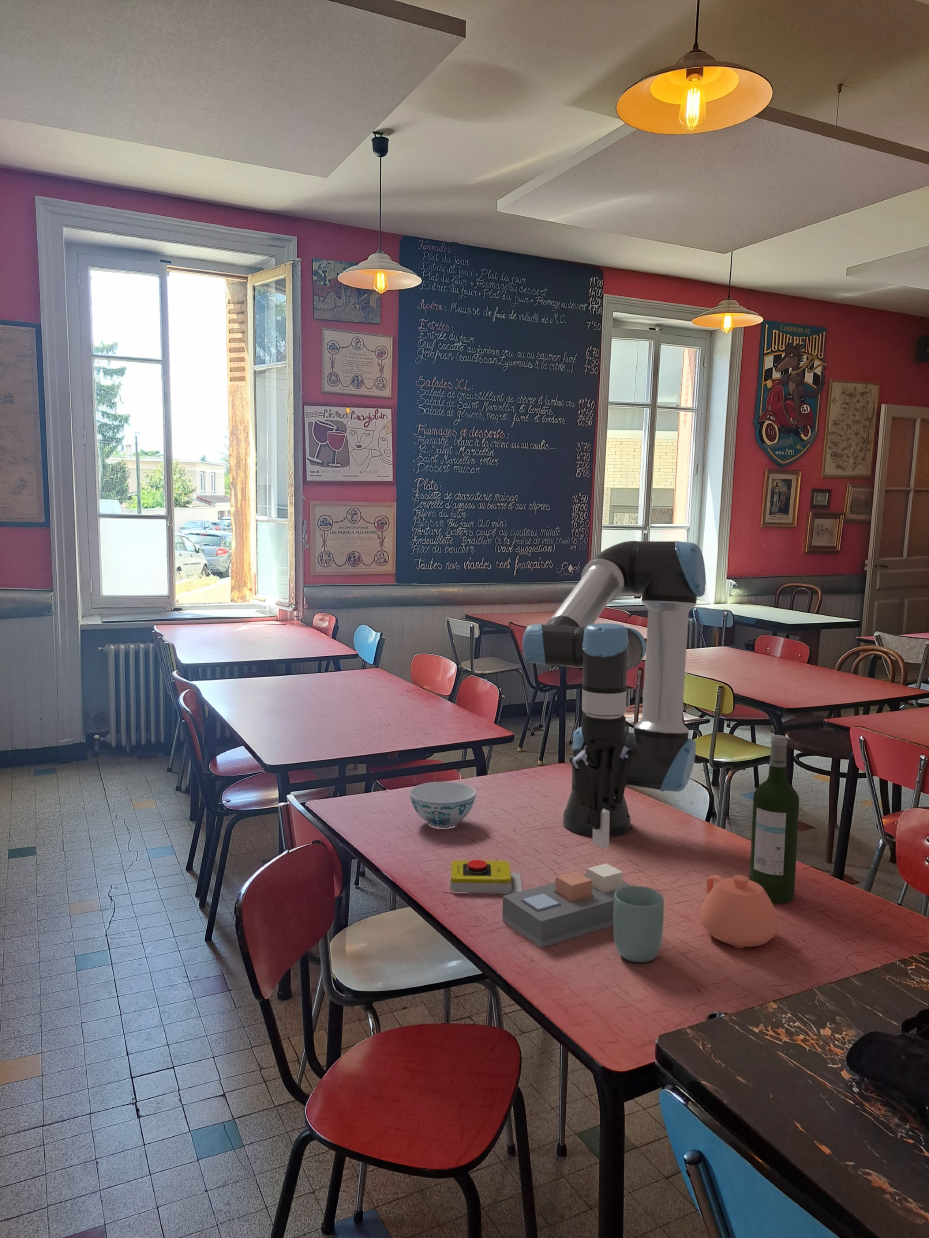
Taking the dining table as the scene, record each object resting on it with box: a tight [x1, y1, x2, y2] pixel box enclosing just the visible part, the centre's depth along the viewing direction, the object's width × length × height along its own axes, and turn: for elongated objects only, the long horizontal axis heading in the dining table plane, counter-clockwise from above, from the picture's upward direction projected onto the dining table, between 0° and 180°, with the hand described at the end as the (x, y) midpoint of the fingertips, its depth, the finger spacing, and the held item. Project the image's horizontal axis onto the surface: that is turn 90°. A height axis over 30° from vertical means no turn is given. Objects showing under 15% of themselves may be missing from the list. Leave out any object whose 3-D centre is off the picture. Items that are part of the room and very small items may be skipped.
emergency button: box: [450, 859, 524, 895], centre depth 163 cm, size 9×4×15 cm
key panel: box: [502, 873, 632, 949], centre depth 149 cm, size 22×11×4 cm, turn 121°
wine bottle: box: [749, 734, 800, 905], centre depth 158 cm, size 8×8×30 cm
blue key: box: [523, 893, 559, 912], centre depth 145 cm, size 4×4×4 cm
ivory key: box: [586, 863, 624, 894], centre depth 152 cm, size 4×4×4 cm
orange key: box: [555, 871, 592, 903], centre depth 148 cm, size 4×4×4 cm
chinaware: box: [409, 781, 477, 828], centre depth 195 cm, size 15×15×8 cm
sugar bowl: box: [700, 874, 779, 949], centre depth 143 cm, size 12×14×10 cm
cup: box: [612, 885, 665, 963], centre depth 136 cm, size 8×8×10 cm
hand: (600, 845), depth 151 cm, fingers closed
